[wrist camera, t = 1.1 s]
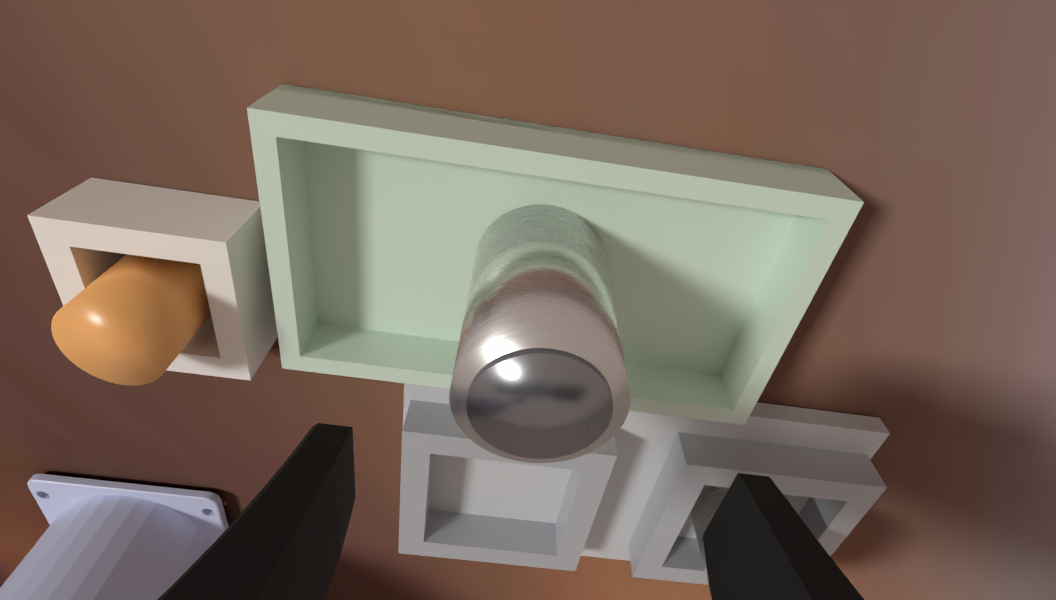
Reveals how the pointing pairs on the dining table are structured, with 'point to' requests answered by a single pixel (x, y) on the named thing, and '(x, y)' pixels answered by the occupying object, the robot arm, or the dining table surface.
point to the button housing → (174, 234)
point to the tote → (520, 180)
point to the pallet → (625, 486)
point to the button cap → (133, 319)
